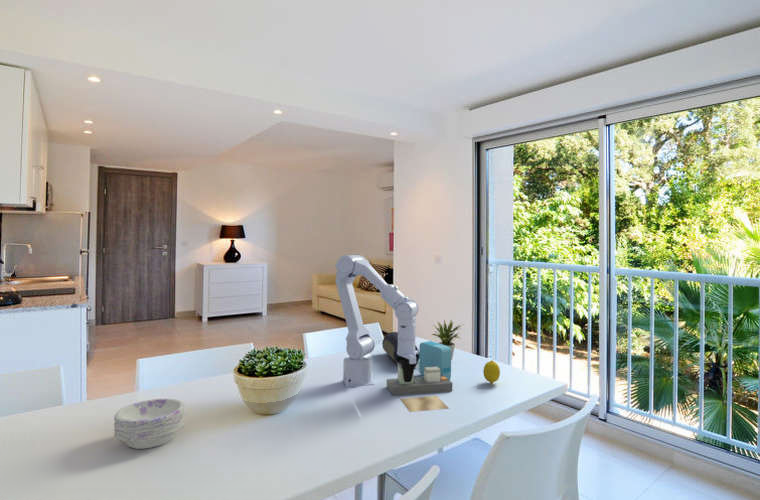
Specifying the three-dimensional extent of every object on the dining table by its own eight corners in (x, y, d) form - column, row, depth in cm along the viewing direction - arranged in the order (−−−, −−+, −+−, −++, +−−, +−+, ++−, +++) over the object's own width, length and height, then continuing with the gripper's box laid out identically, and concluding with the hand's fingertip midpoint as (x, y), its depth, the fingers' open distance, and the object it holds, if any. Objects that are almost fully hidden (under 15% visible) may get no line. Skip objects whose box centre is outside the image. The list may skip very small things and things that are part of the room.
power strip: (392, 396, 136) (392, 385, 136) (386, 388, 143) (386, 377, 143) (452, 392, 140) (452, 381, 140) (443, 383, 148) (443, 373, 148)
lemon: (498, 381, 151) (498, 358, 151) (501, 386, 146) (501, 363, 146) (482, 380, 152) (482, 357, 152) (484, 385, 146) (484, 362, 146)
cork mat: (409, 413, 123) (409, 411, 123) (400, 400, 133) (400, 398, 133) (449, 409, 126) (449, 408, 126) (436, 397, 136) (436, 395, 136)
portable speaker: (380, 353, 186) (380, 330, 186) (402, 352, 189) (402, 329, 188) (397, 371, 162) (397, 344, 161) (422, 369, 164) (422, 343, 164)
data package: (451, 381, 151) (451, 347, 151) (441, 383, 149) (442, 348, 148) (427, 372, 161) (428, 340, 161) (418, 374, 158) (419, 341, 158)
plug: (400, 387, 139) (400, 365, 138) (397, 384, 142) (397, 362, 141) (413, 386, 140) (413, 364, 140) (410, 383, 143) (410, 362, 142)
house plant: (464, 365, 169) (464, 324, 168) (428, 363, 172) (429, 322, 171) (464, 356, 183) (465, 317, 182) (431, 353, 186) (432, 316, 185)
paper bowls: (167, 421, 117) (167, 392, 116) (196, 438, 107) (196, 407, 107) (104, 442, 105) (104, 409, 105) (129, 463, 95) (129, 427, 95)
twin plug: (427, 391, 141) (427, 370, 141) (424, 388, 144) (424, 367, 144) (440, 390, 142) (440, 369, 142) (436, 387, 145) (437, 366, 145)
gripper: (425, 343, 134) (425, 386, 135) (411, 332, 148) (411, 371, 149) (403, 344, 132) (403, 388, 133) (391, 333, 147) (391, 373, 147)
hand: (406, 379), depth 141 cm, fingers closed on plug, 3 cm apart
